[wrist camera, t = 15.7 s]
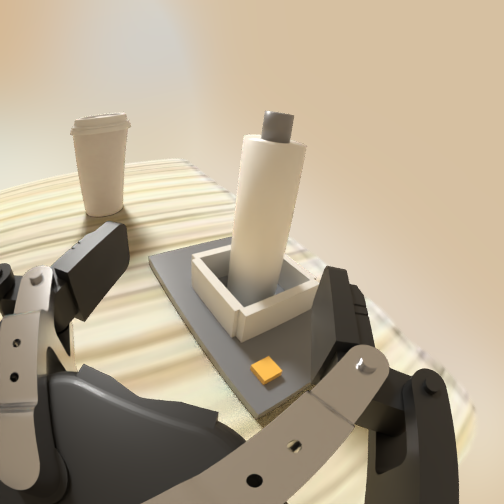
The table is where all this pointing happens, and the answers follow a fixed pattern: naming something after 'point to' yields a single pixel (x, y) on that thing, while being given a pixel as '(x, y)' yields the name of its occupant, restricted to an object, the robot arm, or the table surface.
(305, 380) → the floor socket
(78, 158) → the coffee cup
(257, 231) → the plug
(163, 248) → the table surface
